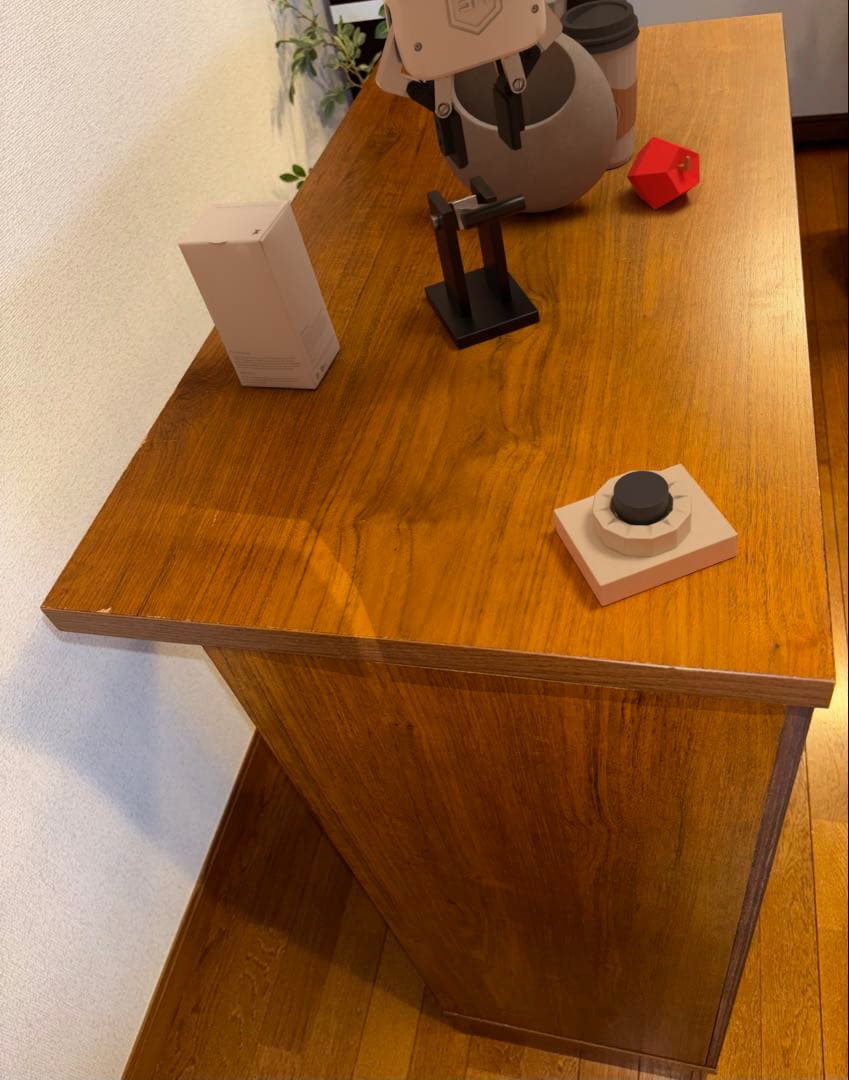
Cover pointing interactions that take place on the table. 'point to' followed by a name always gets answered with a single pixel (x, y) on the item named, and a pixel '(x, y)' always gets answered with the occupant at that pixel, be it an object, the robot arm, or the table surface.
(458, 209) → the lever
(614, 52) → the coffee cup
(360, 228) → the table surface
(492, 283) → the bracket
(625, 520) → the button
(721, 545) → the block
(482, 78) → the planter
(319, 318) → the cosmetic box
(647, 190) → the apple
